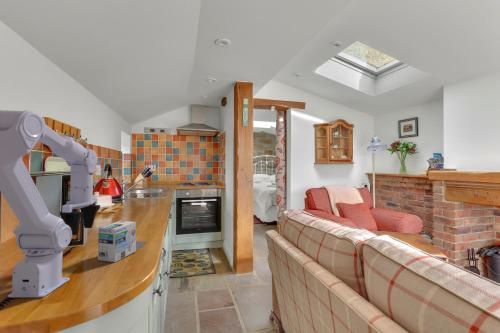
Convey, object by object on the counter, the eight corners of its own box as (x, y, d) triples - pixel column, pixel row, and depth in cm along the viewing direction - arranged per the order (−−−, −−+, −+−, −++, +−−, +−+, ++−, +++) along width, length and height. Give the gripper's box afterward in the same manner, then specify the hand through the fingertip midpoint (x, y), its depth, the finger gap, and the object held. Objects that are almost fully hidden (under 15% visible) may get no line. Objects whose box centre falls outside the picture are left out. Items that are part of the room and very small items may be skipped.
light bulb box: (115, 263, 79) (115, 229, 78) (96, 260, 80) (97, 227, 80) (136, 251, 89) (137, 221, 89) (120, 249, 91) (120, 219, 90)
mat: (134, 252, 89) (134, 251, 89) (108, 252, 88) (108, 251, 88) (146, 242, 101) (146, 241, 101) (124, 242, 100) (124, 241, 100)
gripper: (82, 184, 83) (81, 224, 84) (51, 189, 69) (50, 238, 69) (104, 185, 84) (103, 225, 84) (77, 190, 69) (76, 238, 70)
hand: (81, 231), depth 77 cm, fingers open, 7 cm apart
